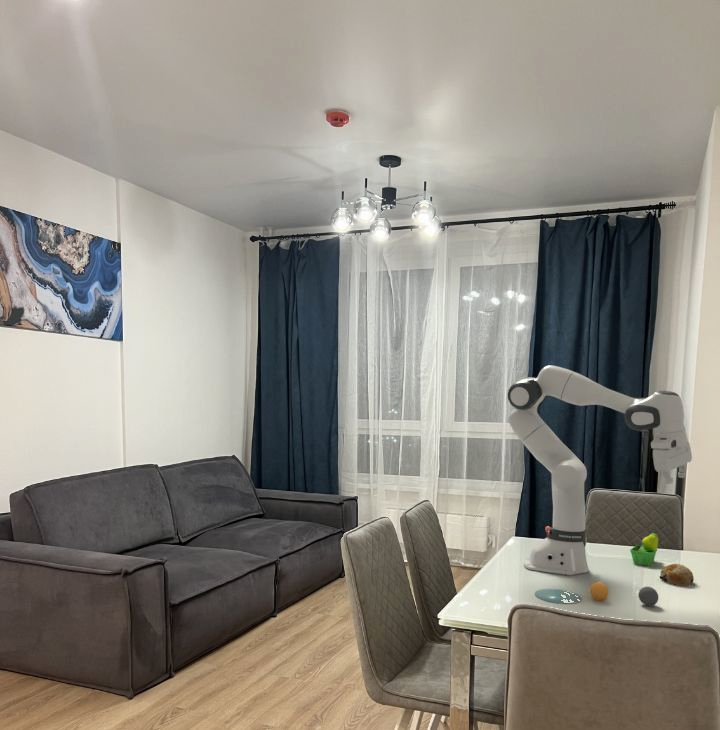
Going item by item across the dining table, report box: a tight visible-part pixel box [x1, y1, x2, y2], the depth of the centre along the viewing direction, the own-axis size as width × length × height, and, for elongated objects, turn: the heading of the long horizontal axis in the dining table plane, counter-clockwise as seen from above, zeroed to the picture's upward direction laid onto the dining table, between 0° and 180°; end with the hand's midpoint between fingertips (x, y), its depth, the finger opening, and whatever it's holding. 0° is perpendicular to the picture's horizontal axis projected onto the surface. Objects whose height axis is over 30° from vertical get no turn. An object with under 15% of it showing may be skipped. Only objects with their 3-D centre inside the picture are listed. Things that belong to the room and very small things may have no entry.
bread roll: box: [659, 563, 695, 587], centre depth 225 cm, size 10×10×8 cm
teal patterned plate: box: [534, 588, 583, 604], centre depth 206 cm, size 14×14×1 cm
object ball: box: [589, 581, 610, 602], centre depth 203 cm, size 6×6×6 cm
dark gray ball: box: [638, 586, 659, 607], centre depth 200 cm, size 6×6×6 cm
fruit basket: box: [629, 532, 659, 566], centre depth 250 cm, size 11×9×11 cm
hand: (675, 480), depth 222 cm, fingers open, 8 cm apart
